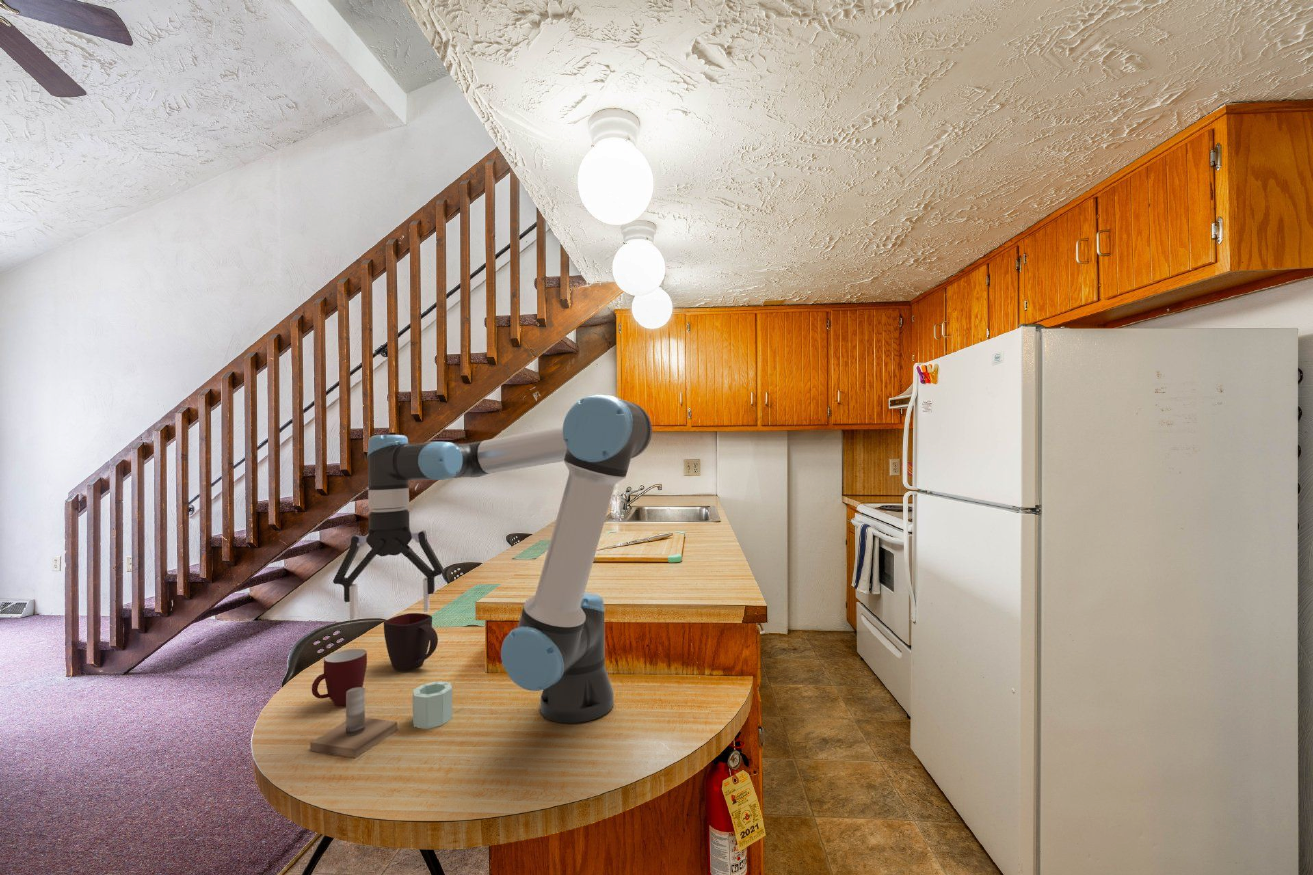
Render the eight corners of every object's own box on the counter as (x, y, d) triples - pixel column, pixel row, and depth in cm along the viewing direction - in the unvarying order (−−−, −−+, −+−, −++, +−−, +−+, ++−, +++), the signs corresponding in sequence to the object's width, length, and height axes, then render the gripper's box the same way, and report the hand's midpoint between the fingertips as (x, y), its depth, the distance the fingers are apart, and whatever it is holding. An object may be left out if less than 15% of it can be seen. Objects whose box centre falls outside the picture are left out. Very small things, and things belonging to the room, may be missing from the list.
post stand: (397, 729, 103) (397, 682, 103) (355, 757, 93) (355, 705, 93) (355, 723, 105) (355, 677, 106) (310, 750, 96) (310, 699, 96)
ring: (458, 713, 109) (458, 683, 109) (435, 730, 102) (435, 698, 102) (429, 709, 111) (429, 680, 111) (405, 726, 104) (405, 694, 104)
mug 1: (326, 719, 107) (326, 669, 108) (302, 711, 111) (303, 662, 111) (374, 698, 117) (375, 651, 117) (351, 691, 120) (351, 646, 121)
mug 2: (410, 657, 140) (410, 611, 141) (450, 664, 135) (450, 616, 135) (377, 671, 131) (377, 622, 132) (418, 680, 126) (418, 628, 126)
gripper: (455, 504, 117) (457, 602, 116) (327, 512, 110) (328, 615, 109) (451, 507, 110) (453, 611, 109) (314, 515, 103) (315, 626, 102)
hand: (390, 614), depth 109 cm, fingers open, 13 cm apart
